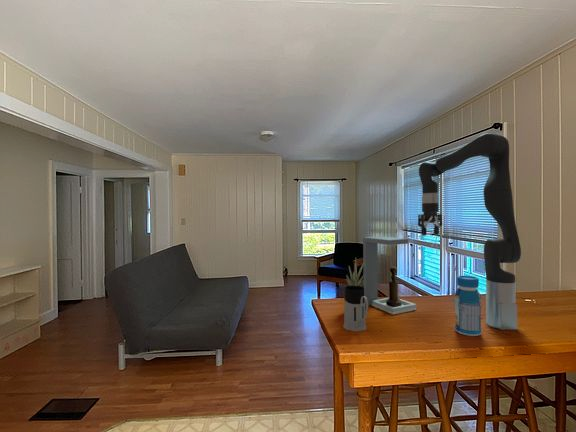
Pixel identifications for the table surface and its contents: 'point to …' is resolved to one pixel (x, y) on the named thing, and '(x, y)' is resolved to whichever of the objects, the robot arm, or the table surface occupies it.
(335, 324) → the table surface
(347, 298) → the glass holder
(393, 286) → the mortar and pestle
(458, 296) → the beverage bottle
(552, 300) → the table surface
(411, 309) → the overhang shelf
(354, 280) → the potted plant
